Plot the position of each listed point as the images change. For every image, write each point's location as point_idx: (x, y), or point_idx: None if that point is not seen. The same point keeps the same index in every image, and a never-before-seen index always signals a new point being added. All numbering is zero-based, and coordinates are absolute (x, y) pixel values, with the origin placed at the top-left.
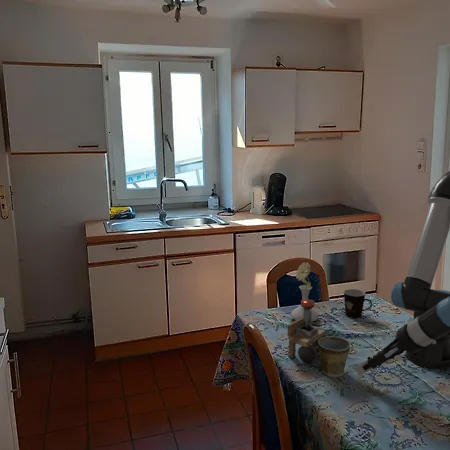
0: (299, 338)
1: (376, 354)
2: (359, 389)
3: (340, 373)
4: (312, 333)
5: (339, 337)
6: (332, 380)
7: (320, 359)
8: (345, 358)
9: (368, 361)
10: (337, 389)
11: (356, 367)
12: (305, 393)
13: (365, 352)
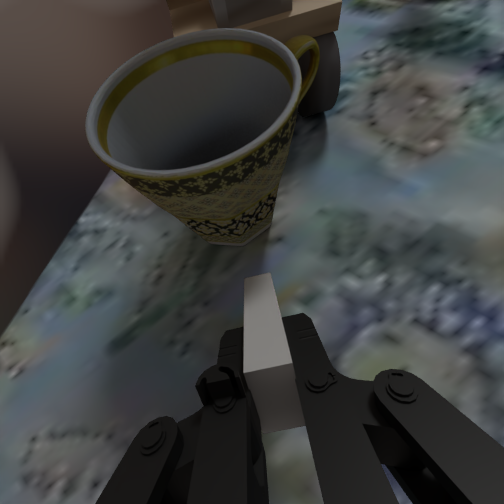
0: (185, 23)
1: (326, 427)
2: (205, 365)
3: (225, 242)
4: (237, 2)
5: (287, 53)
6: (184, 251)
7: (172, 154)
8: (213, 214)
9: (129, 452)
10: (141, 305)
11: (244, 286)
12: (52, 259)
13: (482, 170)
